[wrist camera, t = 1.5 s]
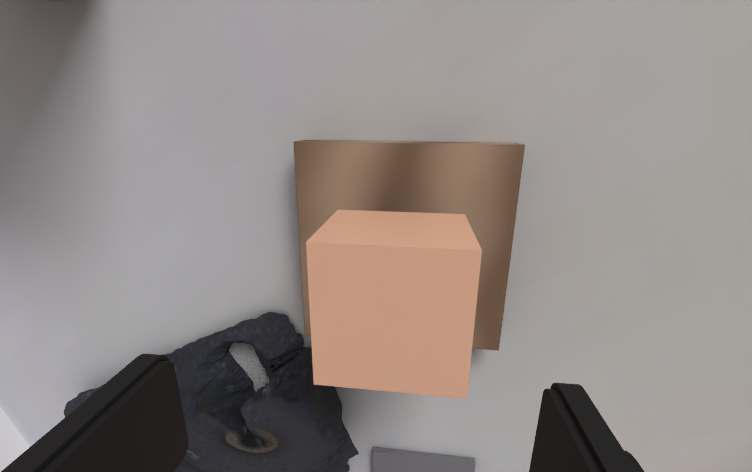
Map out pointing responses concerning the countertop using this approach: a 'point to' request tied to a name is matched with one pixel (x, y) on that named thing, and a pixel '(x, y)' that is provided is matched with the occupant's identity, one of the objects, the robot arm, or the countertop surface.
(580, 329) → the countertop surface
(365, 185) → the square brown stand
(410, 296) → the peach colored cube
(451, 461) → the mat
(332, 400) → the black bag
